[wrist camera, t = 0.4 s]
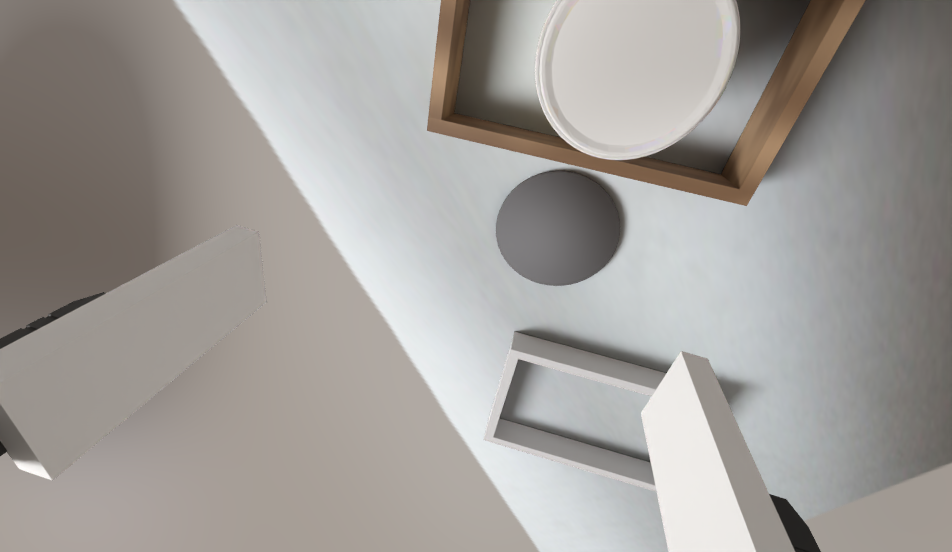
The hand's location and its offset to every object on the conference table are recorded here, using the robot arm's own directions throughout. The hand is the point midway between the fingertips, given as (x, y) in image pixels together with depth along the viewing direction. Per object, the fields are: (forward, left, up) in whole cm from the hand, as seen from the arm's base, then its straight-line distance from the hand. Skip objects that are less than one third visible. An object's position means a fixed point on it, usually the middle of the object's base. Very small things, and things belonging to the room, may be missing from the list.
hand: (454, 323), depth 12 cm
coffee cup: (-8, +4, -25) cm, 26 cm away
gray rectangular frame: (+26, +14, -25) cm, 39 cm away
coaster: (+6, +4, -25) cm, 26 cm away
